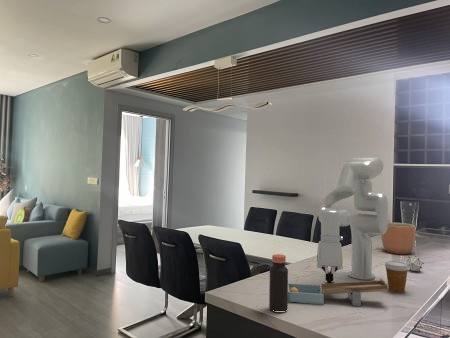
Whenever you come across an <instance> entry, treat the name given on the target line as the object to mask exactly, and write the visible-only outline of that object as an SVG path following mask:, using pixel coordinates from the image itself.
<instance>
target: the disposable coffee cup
mask: <svg viewBox="0 0 450 338" xmlns="http://www.w3.org/2000/svg"><path fill="white" fill-rule="evenodd" d="M384 267H385V272H386V280H387V285H388V292H389V291H390V292H391V293H395V294H403V293H405V289H406V282H407V277H408V270H410V268H409V267H408V265H407V262H401V261H396V260H394V261H393V260H392V261H391V260H390V261H389V260H388V261H385V264H384Z"/></svg>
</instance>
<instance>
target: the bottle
mask: <svg viewBox="0 0 450 338" xmlns="http://www.w3.org/2000/svg"><path fill="white" fill-rule="evenodd" d="M271 258H272V261H271V262H272V266H271V267H269V285H268V286H269V297H268V300H269V301H268V307H269V308H270V309H271V310H274V311H286V310H287V309H288V306H289V303H288V283H289V270H288V268H287V266H285V265H286V261H287V259H286V255H284V254H279V253H277V254H273V255H272V257H271ZM270 309H269V310H270ZM271 310H270V311H271ZM288 310H289V309H288ZM288 310H287V311H288ZM287 311H286V312H287Z"/></svg>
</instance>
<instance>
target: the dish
mask: <svg viewBox="0 0 450 338" xmlns="http://www.w3.org/2000/svg"><path fill="white" fill-rule="evenodd" d="M292 287H295V288H297V289H298V292H290V289H291V288H292ZM324 295H325V294H324V293H322V291H321V285H319V284H303V283H289V282H288V302H299V303H298V304H302V303H310V304H309V305H317V304H322V305H321V306H324V303H325V297H324Z"/></svg>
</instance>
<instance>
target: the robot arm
mask: <svg viewBox="0 0 450 338" xmlns="http://www.w3.org/2000/svg"><path fill="white" fill-rule="evenodd" d="M383 169H384V163H383V160H382V159H381V157H352V158H349V159H348V160H347V161H346V162H345V163H344V164H343V165H342V168H341V171H340V173H339V178H338V182H337V184H336V187H335V188H334V189H332V190H331V191H330V192H328V193H327V194H326V195H325V196H324V198H323V200H322V201H321V204H320V206H319V211H318V221H319V222H320V240H319V241H318V242H317V244H318V245H317V251H316V268H317V269H320V270H323V271H324V272H325V276H324V277H325V282H327V283H332V282H334V274H335V273H336V272H337V271H340V270H343V269H344V267H343V261H344V260H343V249H342V248H343V247H342V243H341V242H340V241H344V240H343V239H344V238H343V236H341V235H340V227H348V226H350V231H351V232H350V233H351V271H349V272H348V274H347V275H348V277H350V278H352V279H357V280H363V281H373V280H375V279H376V275H375V274H374V273H373V269H372V268H373V242H372V239H371V238H370V236H369V235H379V236H380V235H383V234H385V233H386V231H387V226H388V221H389V219H388V217H389V201H388V197H387V195H386V194H385V193H381V192H373V182H372V179H374V178H376V177H378V176H379V175H380V174H381V173H382V172H383ZM352 196H353V207H354V209H355V210H357V211H361V212H371V214H370V213H361V212H360V213H359V212H358V213H354V214H352V213H351V211H350V210H348V209H344V208H335V207H334V208H333V207H332V206H333V205H334V204H335V203H338V202H339V201H342V200H345V199H347V198H350V197H352ZM372 212H373V213H375V214H372ZM329 267H330V270H329Z"/></svg>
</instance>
